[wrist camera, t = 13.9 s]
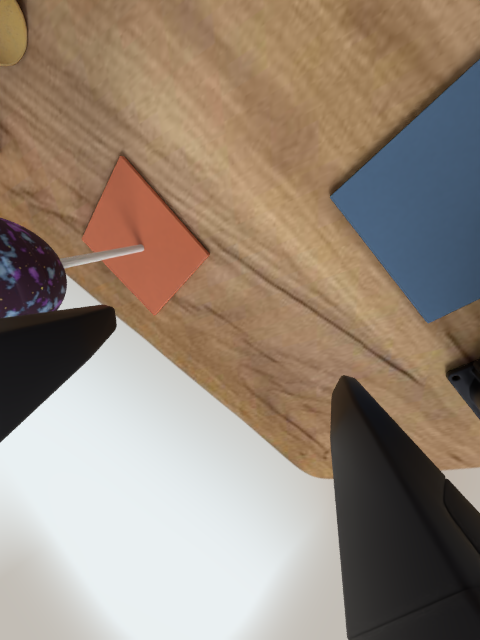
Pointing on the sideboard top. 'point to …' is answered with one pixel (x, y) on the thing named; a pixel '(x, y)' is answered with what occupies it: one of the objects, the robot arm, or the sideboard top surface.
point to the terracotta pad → (143, 238)
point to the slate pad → (426, 202)
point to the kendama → (12, 33)
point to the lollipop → (37, 271)
